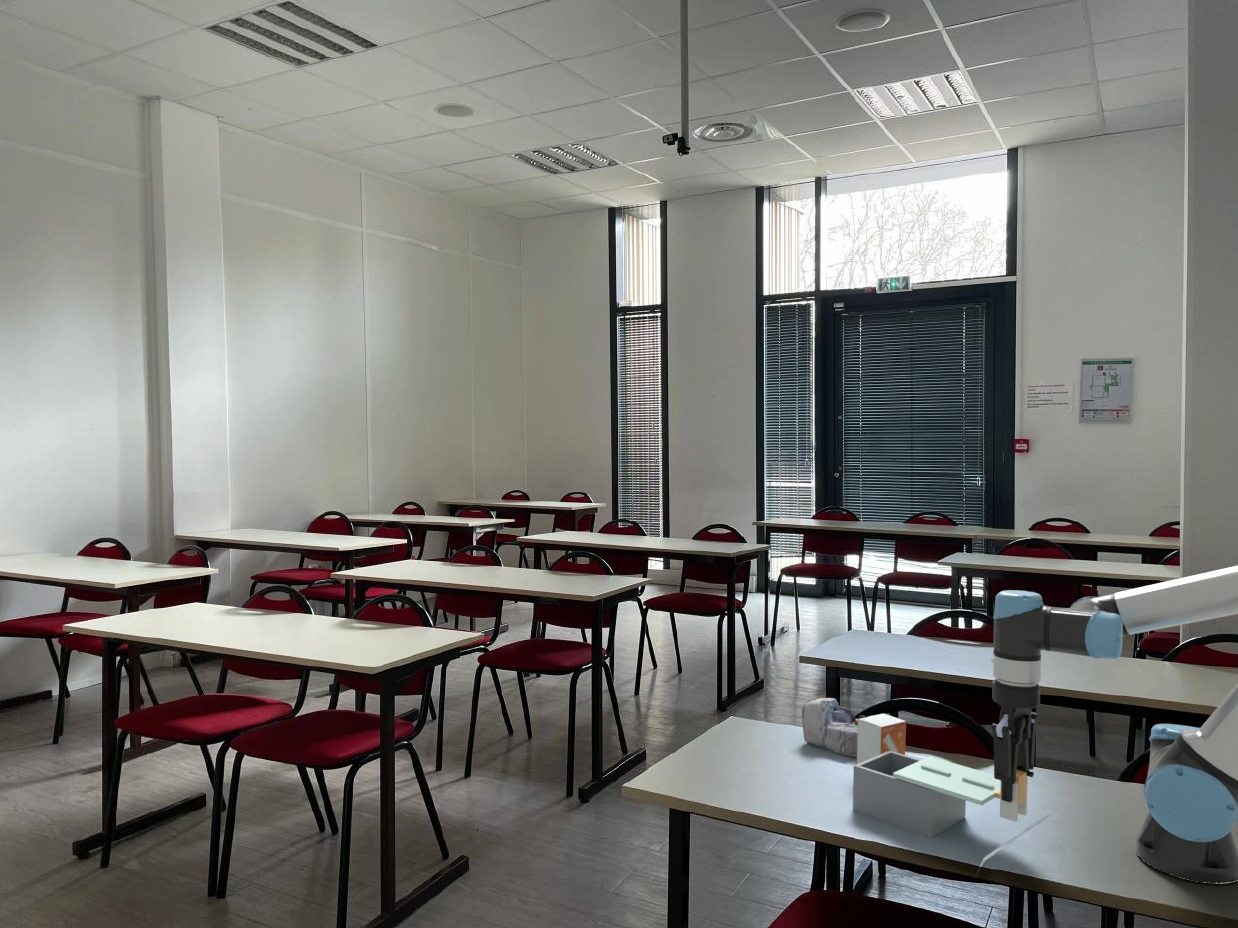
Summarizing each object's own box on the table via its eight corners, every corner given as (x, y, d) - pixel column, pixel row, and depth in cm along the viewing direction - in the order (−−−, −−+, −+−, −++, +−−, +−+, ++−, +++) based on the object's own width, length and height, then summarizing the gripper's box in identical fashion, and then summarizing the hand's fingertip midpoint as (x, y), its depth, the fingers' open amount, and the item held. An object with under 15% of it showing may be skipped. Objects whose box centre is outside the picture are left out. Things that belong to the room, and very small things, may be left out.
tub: (965, 820, 163) (966, 773, 163) (931, 840, 154) (932, 790, 154) (888, 794, 175) (889, 750, 174) (852, 812, 166) (853, 765, 166)
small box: (879, 789, 177) (881, 726, 177) (855, 779, 182) (857, 718, 182) (905, 781, 182) (906, 720, 181) (881, 772, 187) (882, 712, 187)
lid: (1038, 792, 153) (1039, 765, 153) (1005, 812, 144) (1005, 784, 144) (929, 760, 168) (930, 735, 168) (893, 777, 159) (893, 751, 159)
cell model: (815, 689, 213) (897, 705, 202) (813, 732, 213) (895, 751, 202) (795, 701, 202) (881, 718, 191) (793, 746, 202) (879, 767, 191)
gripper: (1014, 669, 158) (1011, 796, 158) (973, 684, 147) (970, 821, 147) (1057, 677, 152) (1054, 809, 152) (1018, 693, 141) (1015, 836, 141)
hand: (1013, 815), depth 150 cm, fingers closed on lid, 3 cm apart
